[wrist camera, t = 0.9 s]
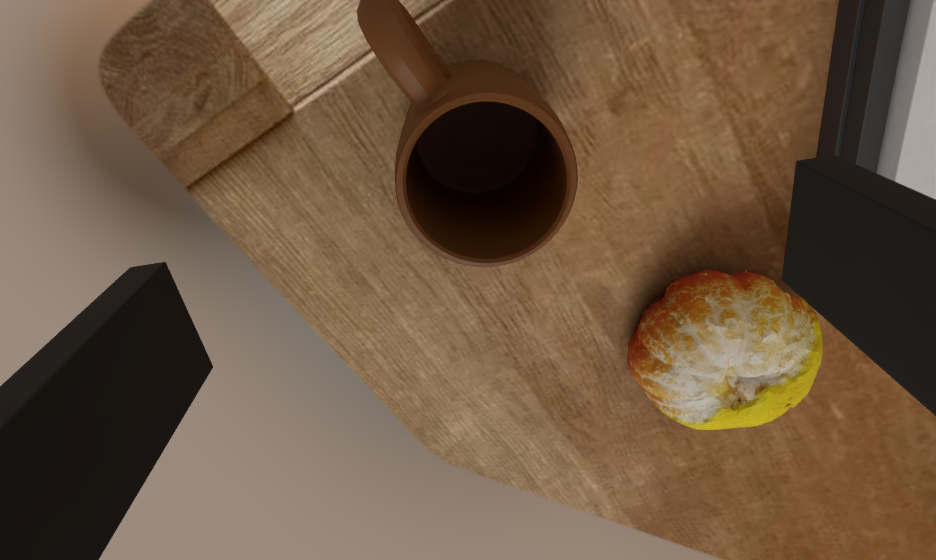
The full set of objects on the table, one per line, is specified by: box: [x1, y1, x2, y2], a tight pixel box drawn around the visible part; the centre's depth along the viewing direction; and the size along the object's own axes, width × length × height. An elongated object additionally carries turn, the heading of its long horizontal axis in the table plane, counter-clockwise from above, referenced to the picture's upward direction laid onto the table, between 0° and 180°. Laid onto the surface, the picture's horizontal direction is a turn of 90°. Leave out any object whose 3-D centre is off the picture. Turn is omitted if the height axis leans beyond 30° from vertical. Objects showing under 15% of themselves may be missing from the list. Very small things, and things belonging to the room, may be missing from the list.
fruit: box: [627, 269, 823, 430], centre depth 35 cm, size 11×10×8 cm
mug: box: [357, 0, 578, 267], centre depth 26 cm, size 12×8×9 cm, turn 33°
